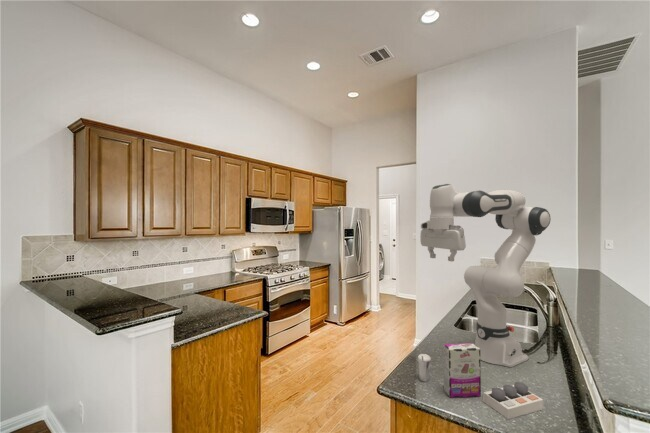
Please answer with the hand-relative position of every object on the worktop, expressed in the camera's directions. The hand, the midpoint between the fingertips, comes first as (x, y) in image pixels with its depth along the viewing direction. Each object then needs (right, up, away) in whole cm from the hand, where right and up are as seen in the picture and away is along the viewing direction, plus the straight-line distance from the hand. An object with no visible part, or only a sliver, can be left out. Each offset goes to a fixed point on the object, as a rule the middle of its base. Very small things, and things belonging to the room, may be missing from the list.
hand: (441, 259), depth 117 cm
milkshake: (-9, -44, -7) cm, 46 cm away
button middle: (+14, -42, -20) cm, 49 cm away
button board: (+15, -44, -21) cm, 51 cm away
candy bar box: (+1, -44, -15) cm, 47 cm away
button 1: (+10, -42, -22) cm, 49 cm away
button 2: (+19, -42, -19) cm, 50 cm away
